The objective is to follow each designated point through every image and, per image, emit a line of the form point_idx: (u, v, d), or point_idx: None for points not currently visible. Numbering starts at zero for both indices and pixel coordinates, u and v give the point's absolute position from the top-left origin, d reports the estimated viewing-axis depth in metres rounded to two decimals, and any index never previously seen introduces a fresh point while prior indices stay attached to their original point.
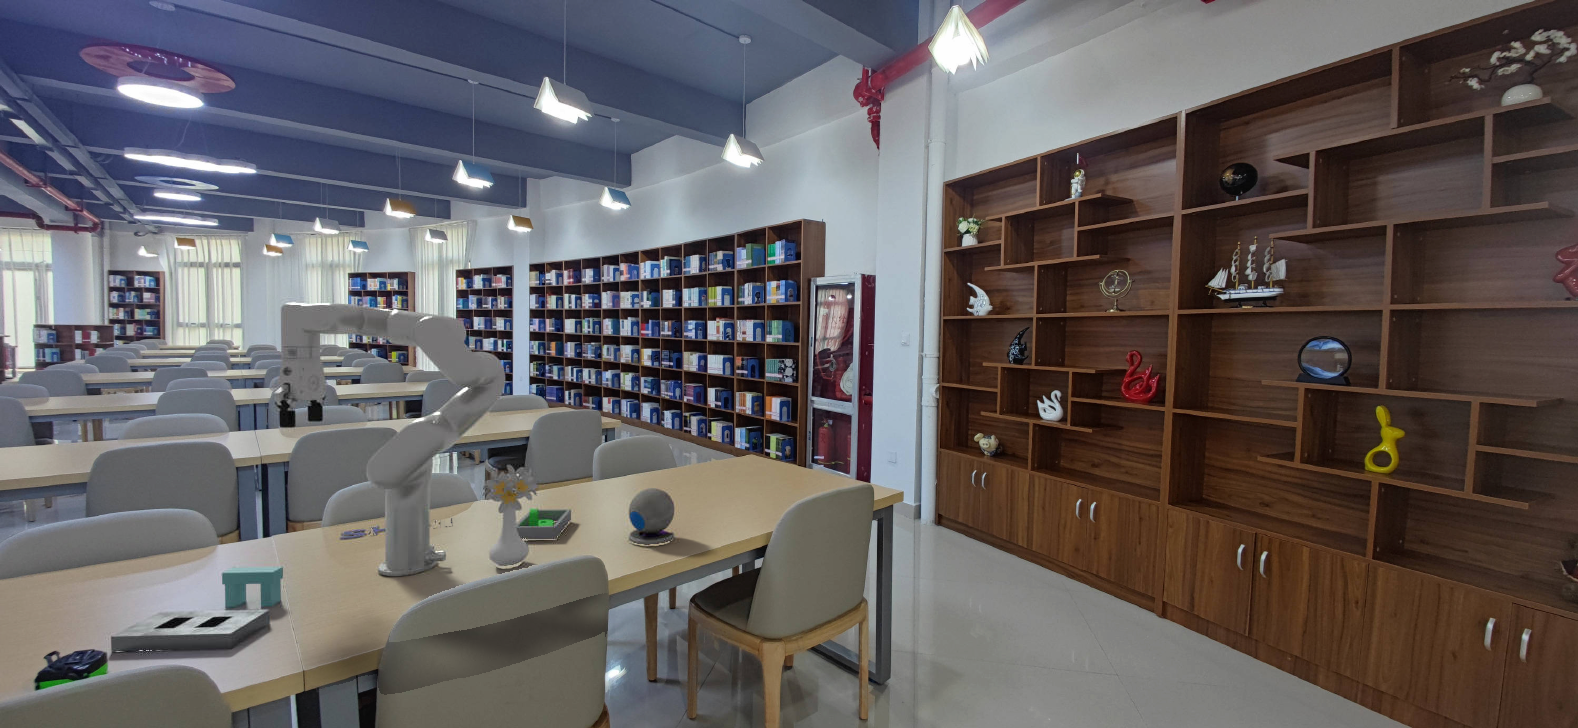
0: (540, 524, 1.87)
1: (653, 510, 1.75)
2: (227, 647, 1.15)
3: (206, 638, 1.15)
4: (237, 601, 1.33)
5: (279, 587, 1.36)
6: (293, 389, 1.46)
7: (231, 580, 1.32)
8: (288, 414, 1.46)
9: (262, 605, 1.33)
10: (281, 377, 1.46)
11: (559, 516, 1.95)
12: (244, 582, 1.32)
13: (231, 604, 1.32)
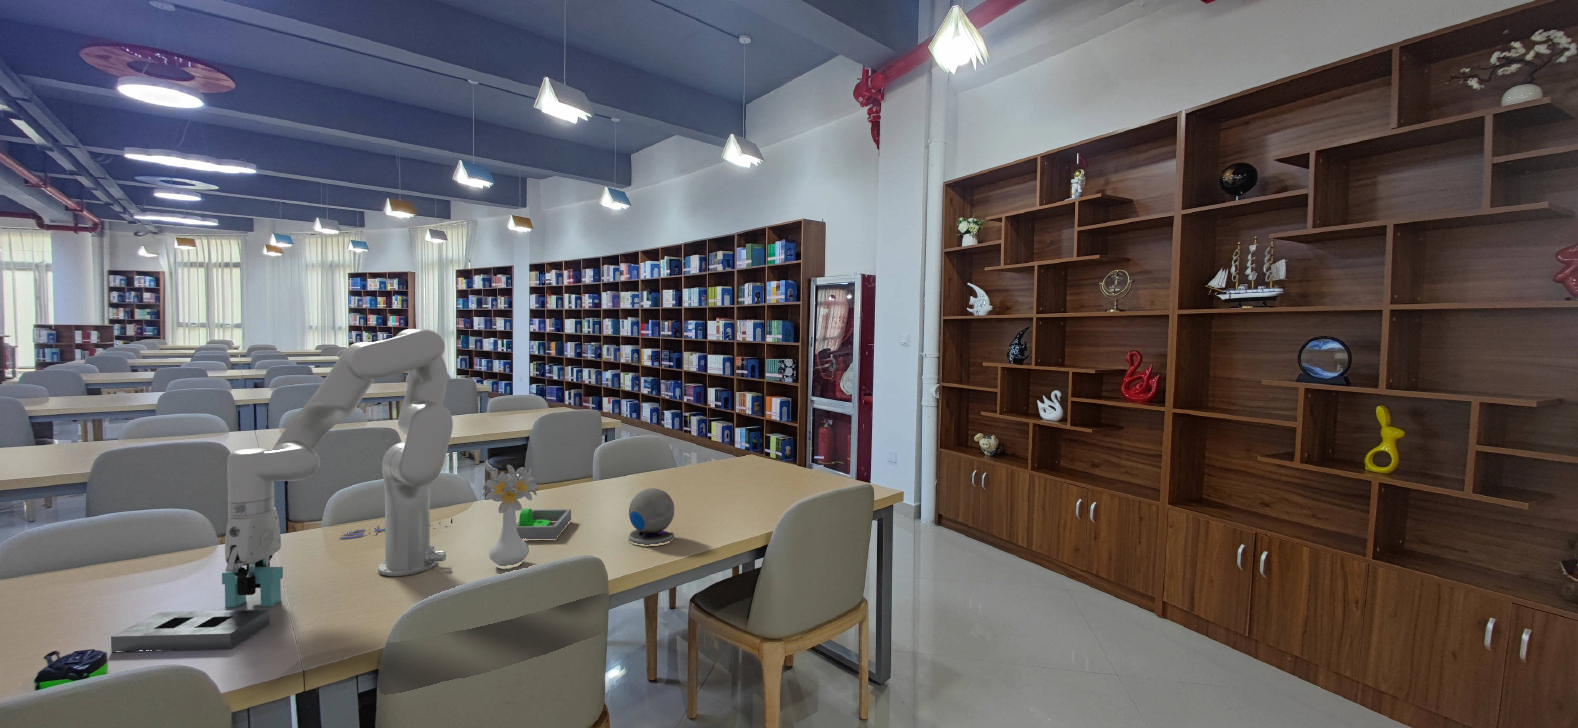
0: (535, 524, 1.87)
1: (653, 510, 1.75)
2: (227, 647, 1.15)
3: (206, 638, 1.15)
4: (237, 601, 1.33)
5: (279, 587, 1.36)
6: (241, 551, 1.29)
7: (231, 580, 1.32)
8: (247, 581, 1.31)
9: (262, 605, 1.33)
10: (227, 538, 1.28)
11: (559, 516, 1.95)
12: None
13: (231, 604, 1.32)
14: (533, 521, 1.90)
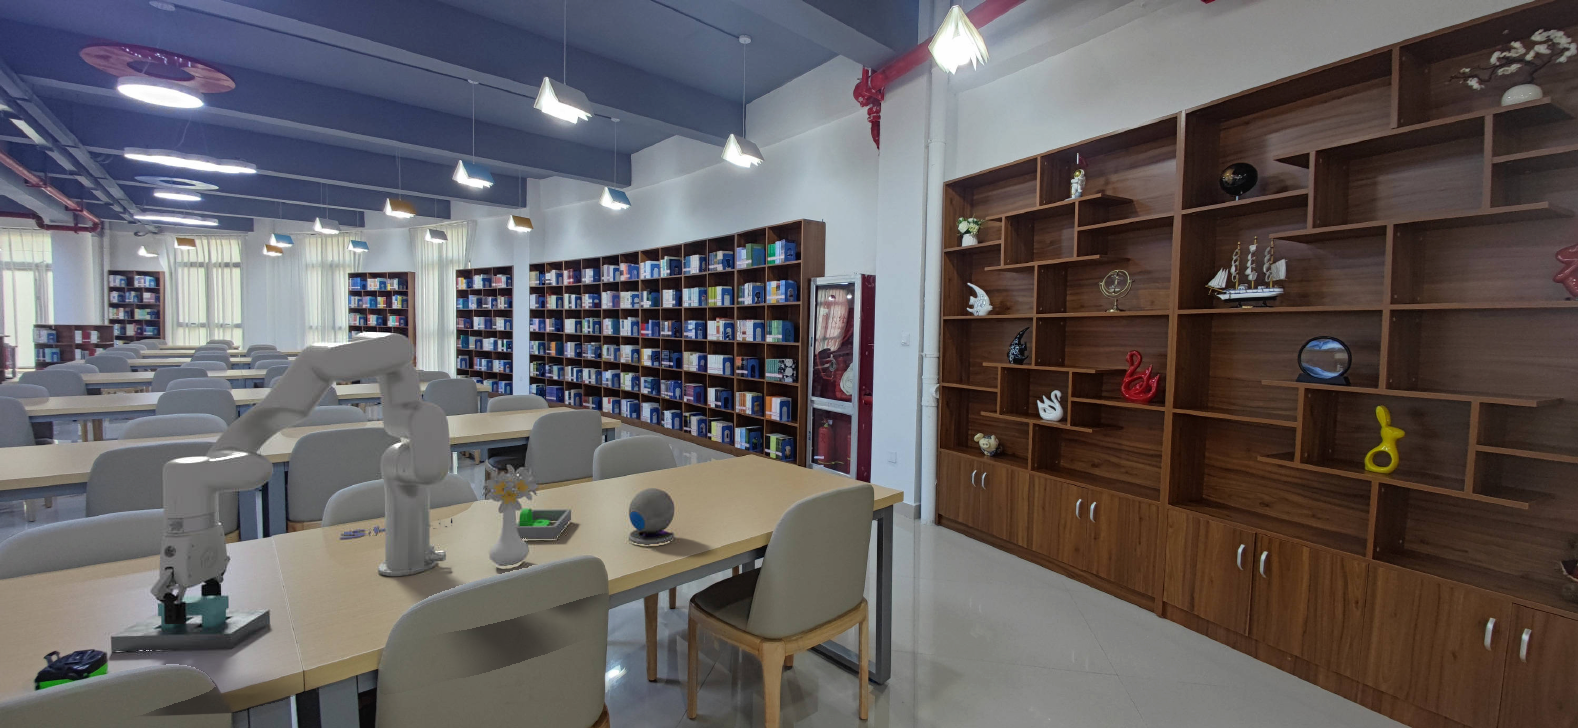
0: (535, 524, 1.87)
1: (653, 510, 1.75)
2: (227, 647, 1.15)
3: (206, 638, 1.15)
4: None
5: (225, 619, 1.21)
6: (178, 573, 1.14)
7: None
8: (175, 608, 1.14)
9: None
10: (162, 559, 1.13)
11: (559, 516, 1.95)
12: None
13: None
14: (533, 521, 1.90)
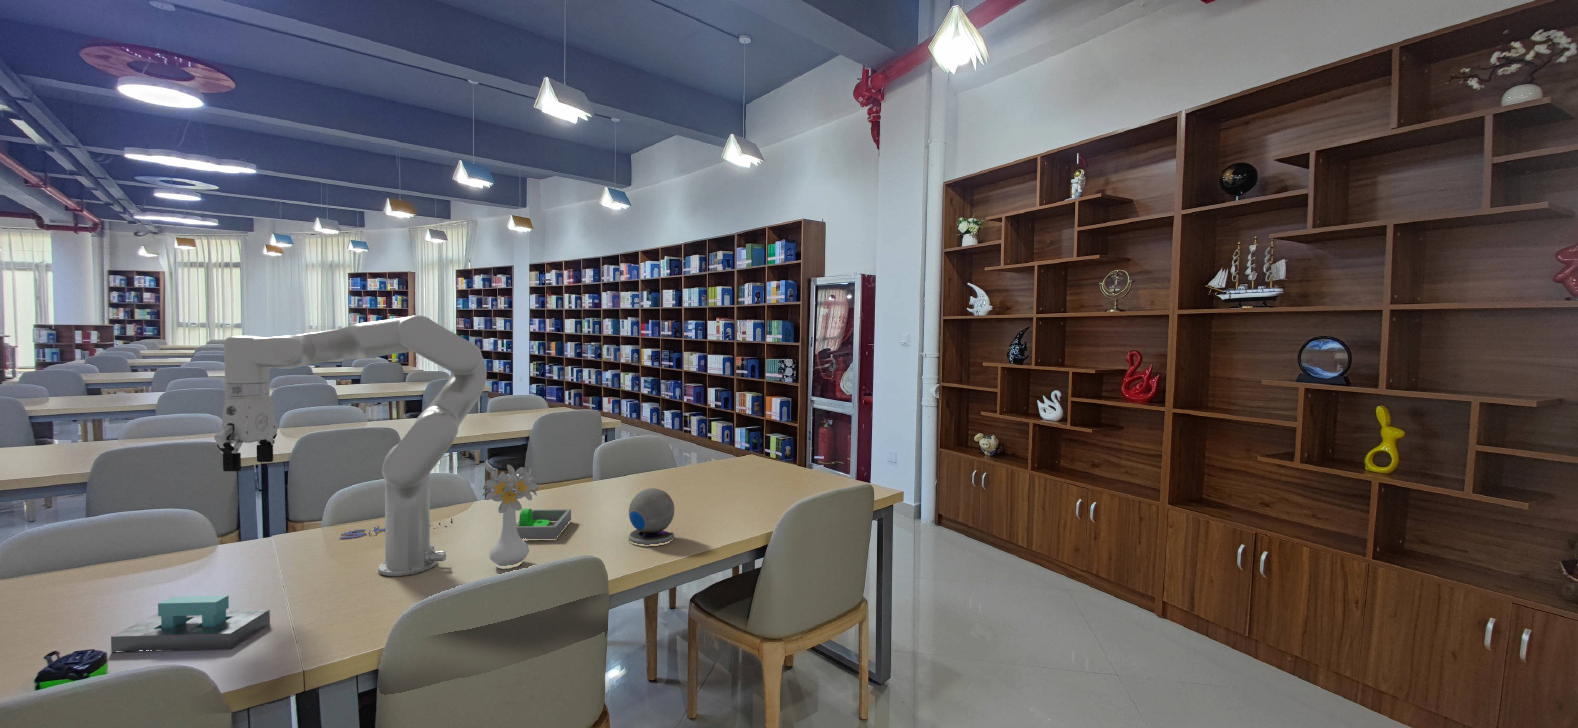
0: (535, 524, 1.87)
1: (653, 510, 1.75)
2: (227, 647, 1.15)
3: (206, 638, 1.15)
4: None
5: (225, 619, 1.21)
6: (238, 429, 1.35)
7: (168, 611, 1.17)
8: (232, 457, 1.34)
9: None
10: (224, 417, 1.35)
11: (559, 516, 1.95)
12: (183, 614, 1.17)
13: None
14: (533, 521, 1.90)
